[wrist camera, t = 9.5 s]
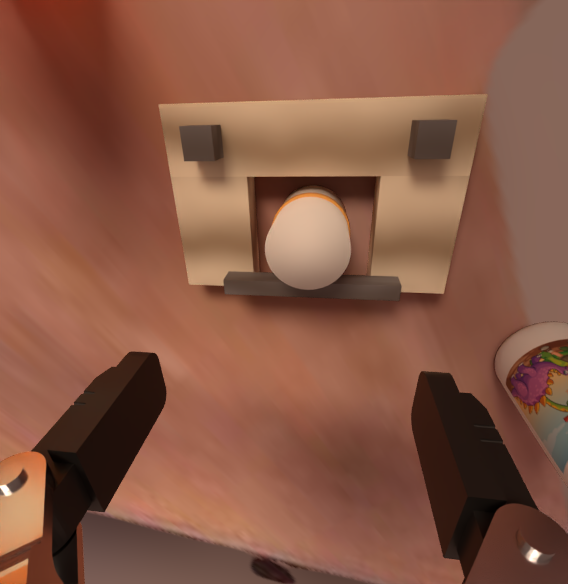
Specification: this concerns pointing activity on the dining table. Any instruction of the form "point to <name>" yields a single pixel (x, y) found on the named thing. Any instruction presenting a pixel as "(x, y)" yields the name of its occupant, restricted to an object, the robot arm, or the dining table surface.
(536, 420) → the milk bottle
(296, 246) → the orange-banded white cylinder
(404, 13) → the dining table surface
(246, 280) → the shelf board
